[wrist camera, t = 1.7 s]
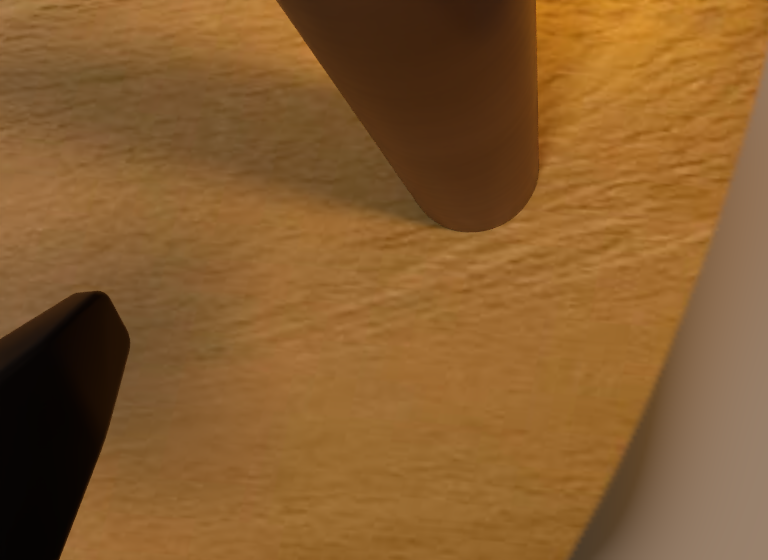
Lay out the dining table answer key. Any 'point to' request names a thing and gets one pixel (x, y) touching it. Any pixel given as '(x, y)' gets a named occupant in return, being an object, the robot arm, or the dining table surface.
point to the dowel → (439, 95)
